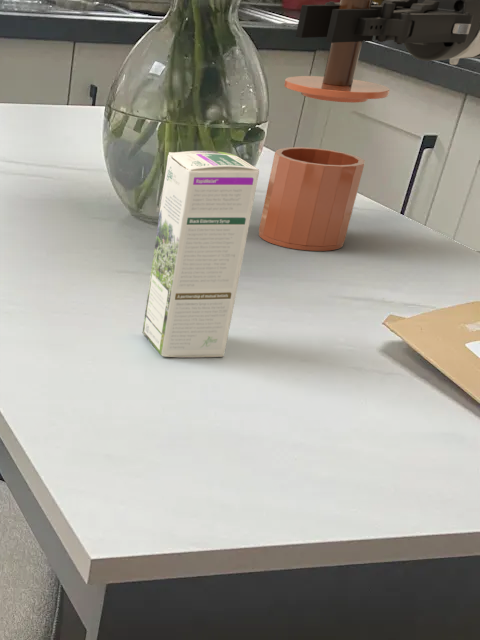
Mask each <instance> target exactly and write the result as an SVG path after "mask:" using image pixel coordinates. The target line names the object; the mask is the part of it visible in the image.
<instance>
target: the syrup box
mask: <svg viewBox="0 0 480 640" xmlns="http://www.w3.org/2000/svg"><path fill="white" fill-rule="evenodd" d="M259 174H260V169H259V168H257V167H255V166H254V165H252V164H250V163H249V162H247V161H246V160H244V159H242V158H241V157H239V156H237V155H236V154H234V153H232V152H231V153H230V152H224V151H215V150H187V151H175V152H171V151H169V152H168V155H167V160H166V167H165V173H164V181H163V185H162V186H163V187H162V193H161V201H160V207H159V208H160V209H159V214H158V221H157V228H156V236H155V242H154V250H153V255H152V264H151V270H150V276H149V283H148V289H147V297H146V305H145V312H144V318H143V326H142V332H141V333H142V335H143V336H144V337H145V338H146V339H147V340H148V341H149V343H150V344H151V345H152V346H153V348H154V349H155V350H156V351H157V353H158V354H159V355H160V356H161V357H166V358H191V359H192V358H219V357H220V358H223V357H224V356H225V353H226V348H227V342H228V338H229V332H230V327H231V323H232V317H233V313H234V307H235V301H236V298H237V297H236V296H237V292H238V286H239V281H240V277H241V276H240V275H241V270H242V265H243V260H244V254H245V250H246V243H247V239H248V233H249V229H250V228H249V227H250V222H251V218H252V217H251V216H252V212H253V207H254V201H255V196H256V190H257V186H258V180H259Z"/></svg>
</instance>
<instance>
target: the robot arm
mask: <svg viewBox="0 0 480 640" xmlns="http://www.w3.org/2000/svg"><path fill="white" fill-rule="evenodd" d="M324 3H325V4H302V5H301V8H300V13H299V19H298V23H297V28H296V31H295V32H296V33H295V38H300V39H305V38H306V39H308V38H326V39H325V43H330V44H331V43H337V42H361V41H362V42H372V41H373V38H374V40H376V41H377V42H378V43H383V42H386V41H387V42H388V41H393V42H394V43H396V44H397V45H403V44H404V47H405V49H406V51H407V52H408V53H409V54H410V55H411V56H412V57H413V58H414V59H416V60H419V61H423V62H431V61H432V62H433V61H446V60H449V61H448V62H449V65H452V66H456V65H458V64H459V61H460V59H480V0H382V1H381V4H380V5H379V2H376V1H374V0H372V3H371V7H370V9H339V5H340V1H339V2H335V1H329V2H328V1H327V2H324Z"/></svg>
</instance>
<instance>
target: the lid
mask: <svg viewBox="0 0 480 640" xmlns="http://www.w3.org/2000/svg"><path fill="white" fill-rule="evenodd" d="M372 1H373V0H340V1H339V2H340V5H339V9H370V7H371V3H372ZM362 45H363V41H361V42H337V43H331V42H330V46H329V51H328V55H327V59H326V65H325V69H324V72H323V76H319V75H300V76H299V75H298V76H297V75H296V76H288V77H286V78H285V80H284V83H283V86H284V88H285V89H288V90H291V91H294V92H298V93H300V94H301V96H304V97H306V98H308V99H309V98H310V99H315V100H319V101H326V102H335V103H356V104H357V103H365V102H368V101H369V100H380V99H386V98H388V97H389V96H390V91H391V88H390V87H388V86H386V85H383V84H379V83H376V82H371V81H367V80H362V79H361V80H359V79H354V78H355V74H356V70H357V66H358V62H359V58H360V52H361V49H362Z"/></svg>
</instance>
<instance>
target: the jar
mask: <svg viewBox="0 0 480 640" xmlns="http://www.w3.org/2000/svg"><path fill="white" fill-rule="evenodd" d="M365 164H366V160H365V159H363V158H361V157H360V156H357V155H355V154H351V153H349V152H343V151H339V150H335V149H334V150H333V149H326V148H318V147H307V146H306V147H305V146H295V147H292V146H291V147H283V148H278V149H277V150H276V151H275V152H274V155H273V161H272V165H271V169H270V175H269V179H268V184H267V189H266V194H265V199H264V202H263V203H264V204H263V208H262V213H261V217H260V218H261V219H260V223H259V227H258V237H259V238H260V239H261V240H263V241H265V242H267V243H270V244H272V245H275V246H278V247H283V248H287V249H291V250H300V251H309V252H329V251H335V250H339V249H342V248H343V247H344V245H345V241H346V238H347V234H348V231H349V230H348V229H349V226H350V222H351V218H352V214H353V210H354V208H355V207H354V206H355V202H356V198H357V196H358V191H359V187H360V183H361V180H362V175H363V172H364V169H365V168H364V167H365Z"/></svg>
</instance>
